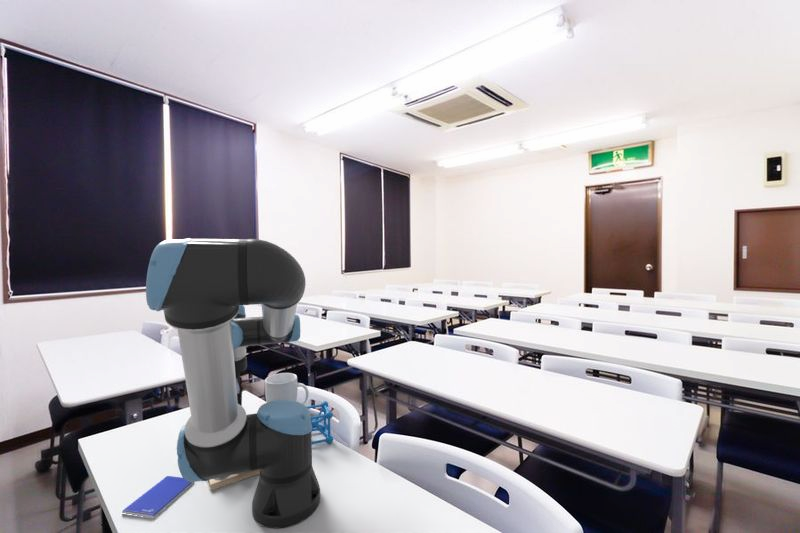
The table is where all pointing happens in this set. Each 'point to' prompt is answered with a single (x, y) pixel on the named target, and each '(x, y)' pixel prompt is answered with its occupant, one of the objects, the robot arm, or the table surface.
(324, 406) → the molecular structure
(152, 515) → the hard drive
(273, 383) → the mug
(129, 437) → the table surface
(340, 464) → the table surface
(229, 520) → the table surface
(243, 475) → the wooden base mechanism
